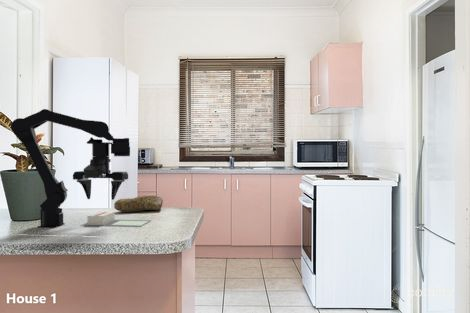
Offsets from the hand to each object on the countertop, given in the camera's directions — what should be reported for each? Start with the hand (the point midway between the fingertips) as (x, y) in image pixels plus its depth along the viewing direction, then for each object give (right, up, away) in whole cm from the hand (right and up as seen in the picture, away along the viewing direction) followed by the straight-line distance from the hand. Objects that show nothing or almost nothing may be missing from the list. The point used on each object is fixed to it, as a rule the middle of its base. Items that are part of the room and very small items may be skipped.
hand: (100, 199), depth 140 cm
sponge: (+7, -9, +28) cm, 30 cm away
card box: (0, -9, 0) cm, 9 cm away
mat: (+6, -9, 0) cm, 11 cm away
